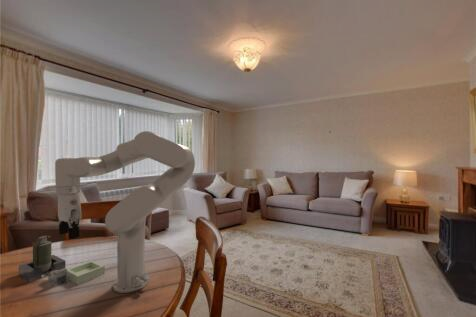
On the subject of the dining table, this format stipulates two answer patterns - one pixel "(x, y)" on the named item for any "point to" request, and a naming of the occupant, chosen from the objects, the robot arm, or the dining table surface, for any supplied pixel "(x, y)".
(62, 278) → the grey stepped block
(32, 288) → the dining table surface
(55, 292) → the dining table surface
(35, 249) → the grenade
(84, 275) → the tray
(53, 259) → the socket
